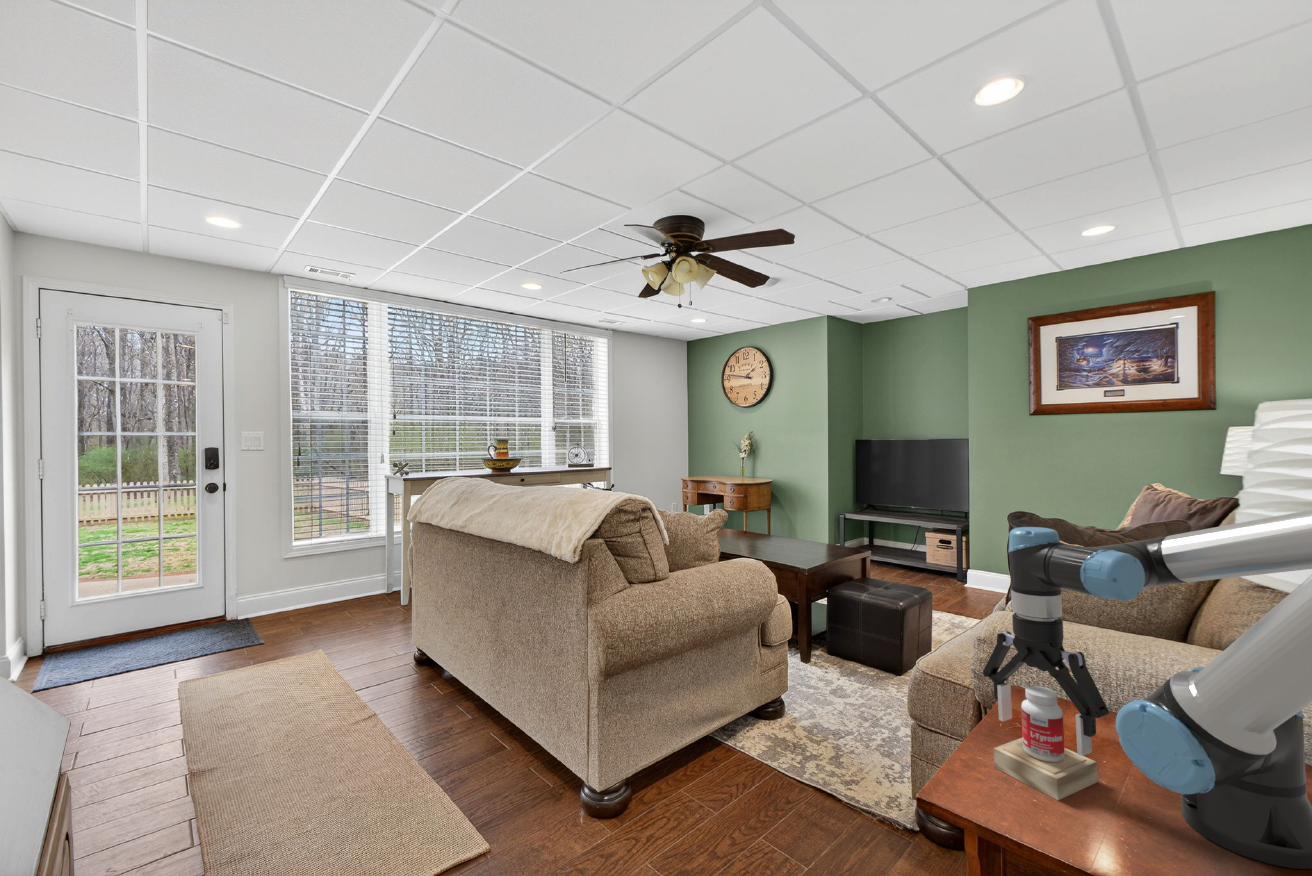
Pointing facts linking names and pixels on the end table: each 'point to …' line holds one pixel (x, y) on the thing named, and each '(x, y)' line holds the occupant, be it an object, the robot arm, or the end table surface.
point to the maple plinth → (1046, 770)
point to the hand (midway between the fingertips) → (1042, 735)
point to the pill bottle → (1042, 725)
